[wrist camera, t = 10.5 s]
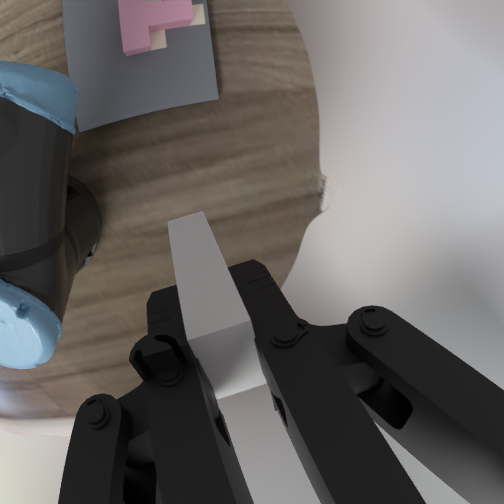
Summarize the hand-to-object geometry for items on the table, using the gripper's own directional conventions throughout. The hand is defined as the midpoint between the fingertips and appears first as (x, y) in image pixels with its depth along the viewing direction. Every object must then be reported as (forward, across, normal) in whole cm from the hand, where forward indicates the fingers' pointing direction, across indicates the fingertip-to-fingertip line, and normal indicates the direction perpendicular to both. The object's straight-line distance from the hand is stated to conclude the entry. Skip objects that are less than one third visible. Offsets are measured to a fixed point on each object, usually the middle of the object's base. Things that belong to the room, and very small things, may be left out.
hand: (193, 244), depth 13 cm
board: (+29, -1, +16) cm, 33 cm away
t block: (+28, +1, +16) cm, 32 cm away
